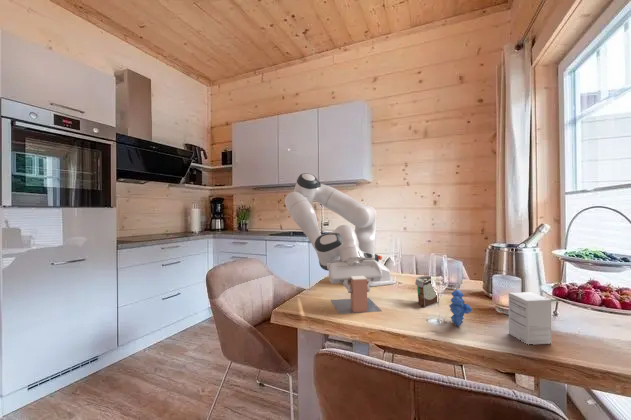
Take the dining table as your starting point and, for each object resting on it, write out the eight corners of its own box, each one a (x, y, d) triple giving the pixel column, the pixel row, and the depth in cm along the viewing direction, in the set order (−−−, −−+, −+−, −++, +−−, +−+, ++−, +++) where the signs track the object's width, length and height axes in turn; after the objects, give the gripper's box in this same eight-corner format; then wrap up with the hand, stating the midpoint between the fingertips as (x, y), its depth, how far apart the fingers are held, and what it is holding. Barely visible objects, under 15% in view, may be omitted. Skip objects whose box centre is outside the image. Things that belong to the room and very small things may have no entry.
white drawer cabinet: (531, 332, 87) (531, 291, 87) (552, 344, 80) (552, 299, 79) (507, 333, 87) (507, 292, 87) (526, 345, 79) (527, 300, 79)
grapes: (471, 335, 85) (471, 296, 85) (446, 330, 89) (446, 292, 89) (473, 321, 95) (473, 286, 95) (451, 317, 99) (451, 283, 99)
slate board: (368, 300, 118) (368, 297, 118) (382, 313, 103) (382, 311, 103) (330, 302, 116) (330, 299, 115) (339, 316, 101) (338, 314, 101)
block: (363, 307, 107) (363, 275, 106) (367, 311, 103) (366, 278, 102) (350, 308, 106) (350, 276, 106) (353, 312, 102) (353, 279, 102)
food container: (427, 297, 120) (427, 274, 120) (441, 301, 115) (441, 277, 115) (408, 303, 113) (408, 278, 113) (422, 308, 108) (422, 282, 108)
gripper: (326, 256, 109) (332, 289, 100) (378, 254, 112) (387, 286, 103) (324, 265, 114) (329, 297, 104) (374, 263, 117) (383, 294, 107)
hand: (359, 291), depth 104 cm, fingers closed on block, 5 cm apart
